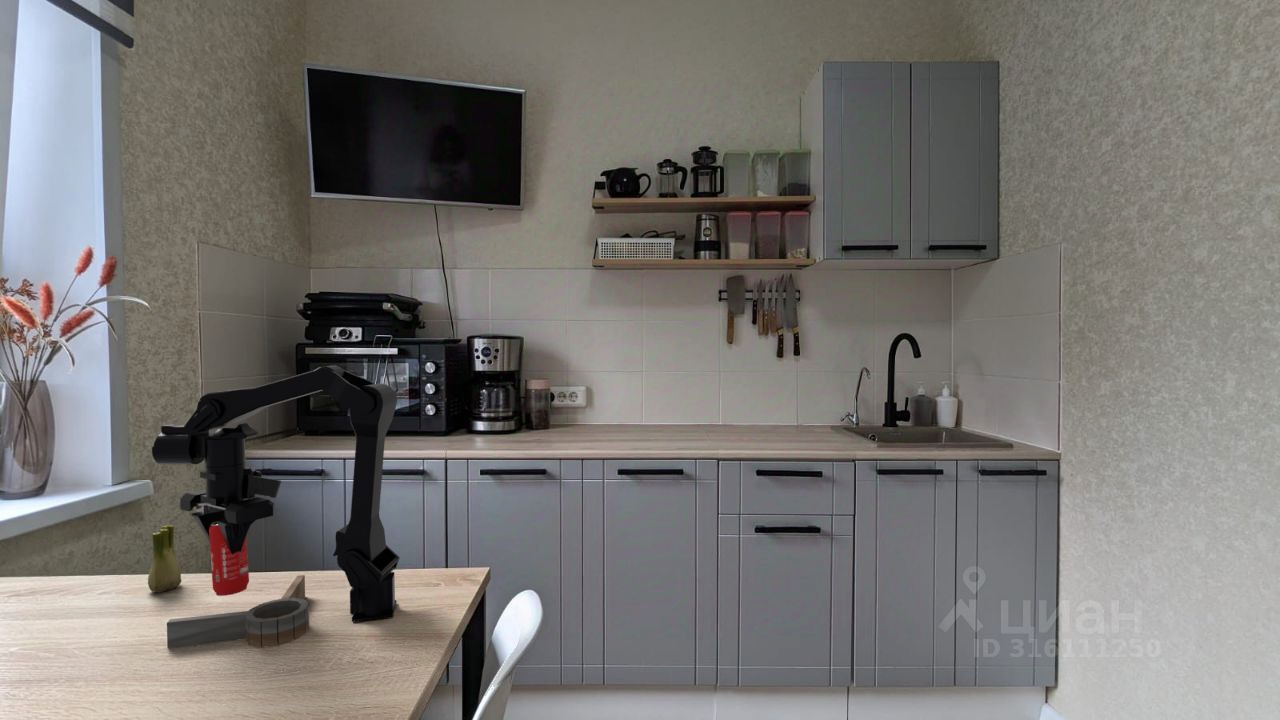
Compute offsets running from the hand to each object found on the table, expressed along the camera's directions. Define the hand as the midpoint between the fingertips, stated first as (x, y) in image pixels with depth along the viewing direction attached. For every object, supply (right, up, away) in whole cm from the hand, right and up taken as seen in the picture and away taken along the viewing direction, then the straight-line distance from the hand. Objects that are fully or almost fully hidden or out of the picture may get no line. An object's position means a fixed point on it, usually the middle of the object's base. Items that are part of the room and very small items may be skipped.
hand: (227, 554), depth 107 cm
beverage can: (+1, -7, 0) cm, 7 cm away
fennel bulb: (-20, -11, +11) cm, 25 cm away
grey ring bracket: (+6, -11, -3) cm, 13 cm away
